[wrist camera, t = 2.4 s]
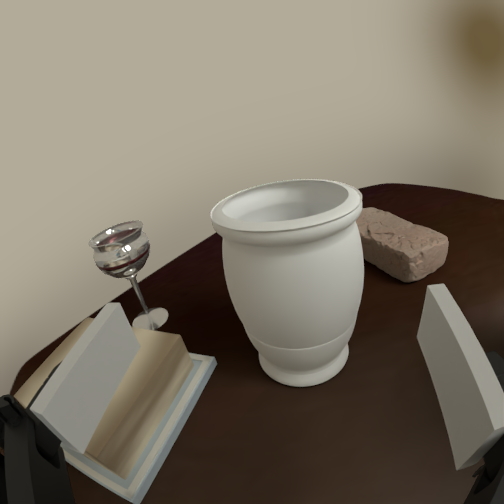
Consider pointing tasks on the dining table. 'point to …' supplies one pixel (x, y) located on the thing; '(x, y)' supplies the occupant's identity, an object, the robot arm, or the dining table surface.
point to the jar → (294, 273)
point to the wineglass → (127, 263)
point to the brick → (400, 245)
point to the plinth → (127, 396)
